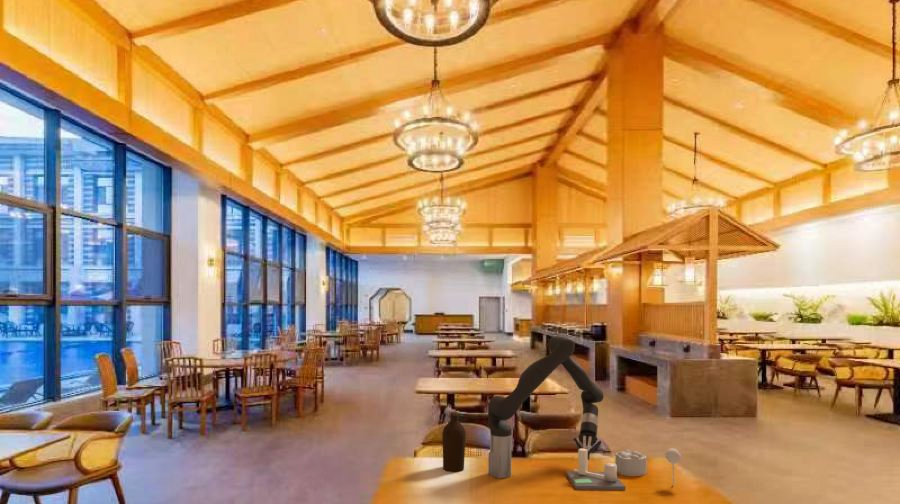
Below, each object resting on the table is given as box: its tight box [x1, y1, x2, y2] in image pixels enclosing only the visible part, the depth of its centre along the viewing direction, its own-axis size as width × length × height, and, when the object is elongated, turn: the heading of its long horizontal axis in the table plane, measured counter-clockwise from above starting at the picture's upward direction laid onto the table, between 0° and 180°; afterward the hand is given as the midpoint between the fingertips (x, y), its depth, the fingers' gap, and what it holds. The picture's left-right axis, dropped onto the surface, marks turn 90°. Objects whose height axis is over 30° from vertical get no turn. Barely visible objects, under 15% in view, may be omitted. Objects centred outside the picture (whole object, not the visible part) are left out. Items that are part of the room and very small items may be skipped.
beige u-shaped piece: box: [573, 447, 618, 482], centre depth 227 cm, size 18×5×10 cm, turn 54°
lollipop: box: [664, 447, 682, 486], centre depth 223 cm, size 6×6×15 cm
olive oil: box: [441, 410, 467, 473], centre depth 240 cm, size 11×11×25 cm
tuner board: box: [565, 470, 626, 491], centre depth 225 cm, size 20×18×2 cm
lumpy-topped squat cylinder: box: [614, 449, 648, 477], centre depth 240 cm, size 10×13×9 cm
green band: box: [573, 479, 593, 483], centre depth 221 cm, size 7×4×1 cm, turn 96°
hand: (585, 459), depth 236 cm, fingers closed
